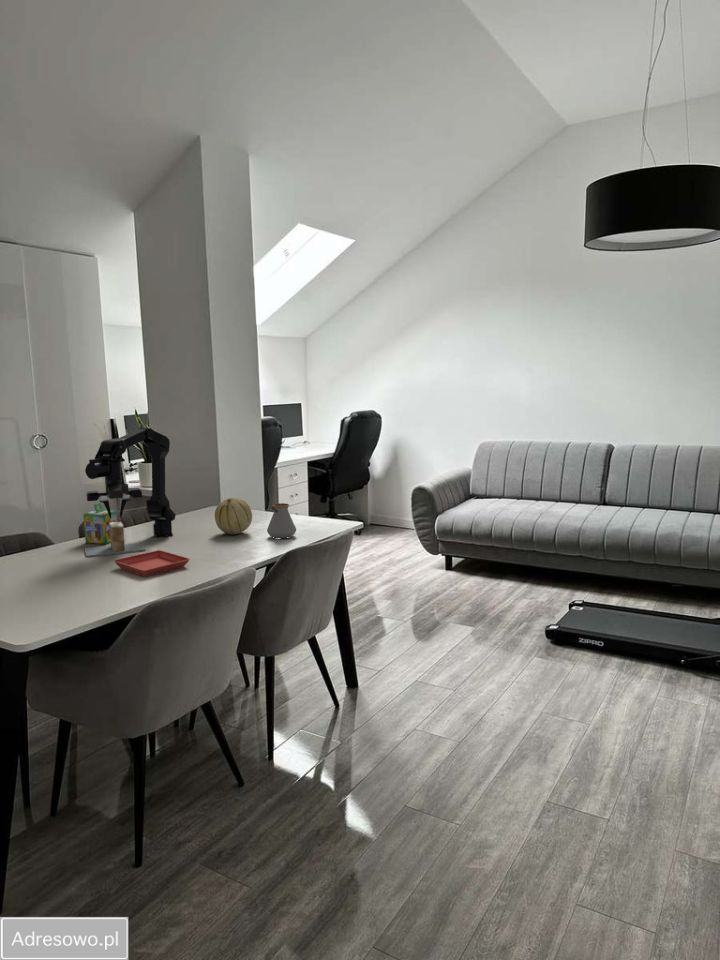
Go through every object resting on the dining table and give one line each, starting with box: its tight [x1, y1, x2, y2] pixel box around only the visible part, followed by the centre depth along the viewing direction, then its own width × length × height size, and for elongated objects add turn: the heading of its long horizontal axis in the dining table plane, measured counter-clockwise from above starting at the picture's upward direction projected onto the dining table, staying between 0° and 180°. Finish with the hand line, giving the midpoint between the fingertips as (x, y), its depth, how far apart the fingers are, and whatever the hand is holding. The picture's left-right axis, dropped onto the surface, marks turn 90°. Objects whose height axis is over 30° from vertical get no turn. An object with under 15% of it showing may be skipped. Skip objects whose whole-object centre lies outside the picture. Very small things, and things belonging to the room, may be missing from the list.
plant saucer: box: [113, 549, 191, 577], centre depth 235 cm, size 18×18×3 cm
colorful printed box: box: [83, 502, 118, 545], centre depth 272 cm, size 9×9×15 cm
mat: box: [83, 542, 146, 558], centre depth 259 cm, size 20×12×1 cm, turn 114°
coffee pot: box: [266, 502, 297, 539], centre depth 272 cm, size 21×12×15 cm, turn 174°
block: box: [110, 521, 125, 551], centre depth 258 cm, size 4×8×9 cm, turn 24°
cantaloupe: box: [214, 497, 253, 535], centre depth 283 cm, size 15×15×15 cm
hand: (115, 517), depth 257 cm, fingers open, 3 cm apart
